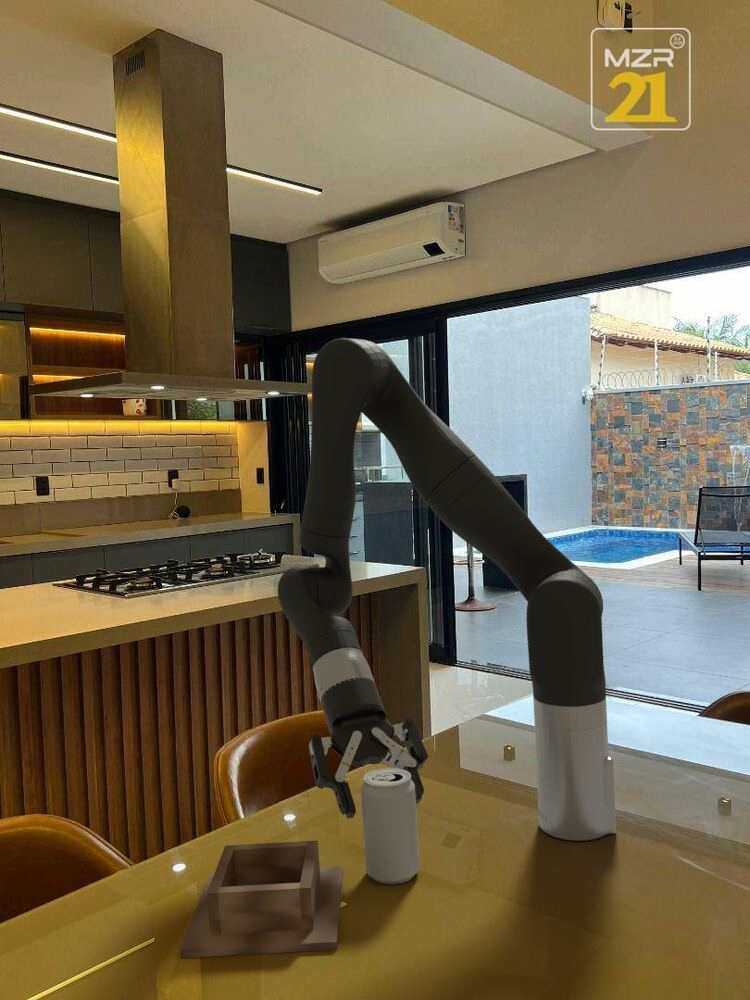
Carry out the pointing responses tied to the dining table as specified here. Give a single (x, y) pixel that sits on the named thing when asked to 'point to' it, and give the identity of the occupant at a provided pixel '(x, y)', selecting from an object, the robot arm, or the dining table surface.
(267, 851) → the well
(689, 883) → the dining table surface
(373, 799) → the beverage can
